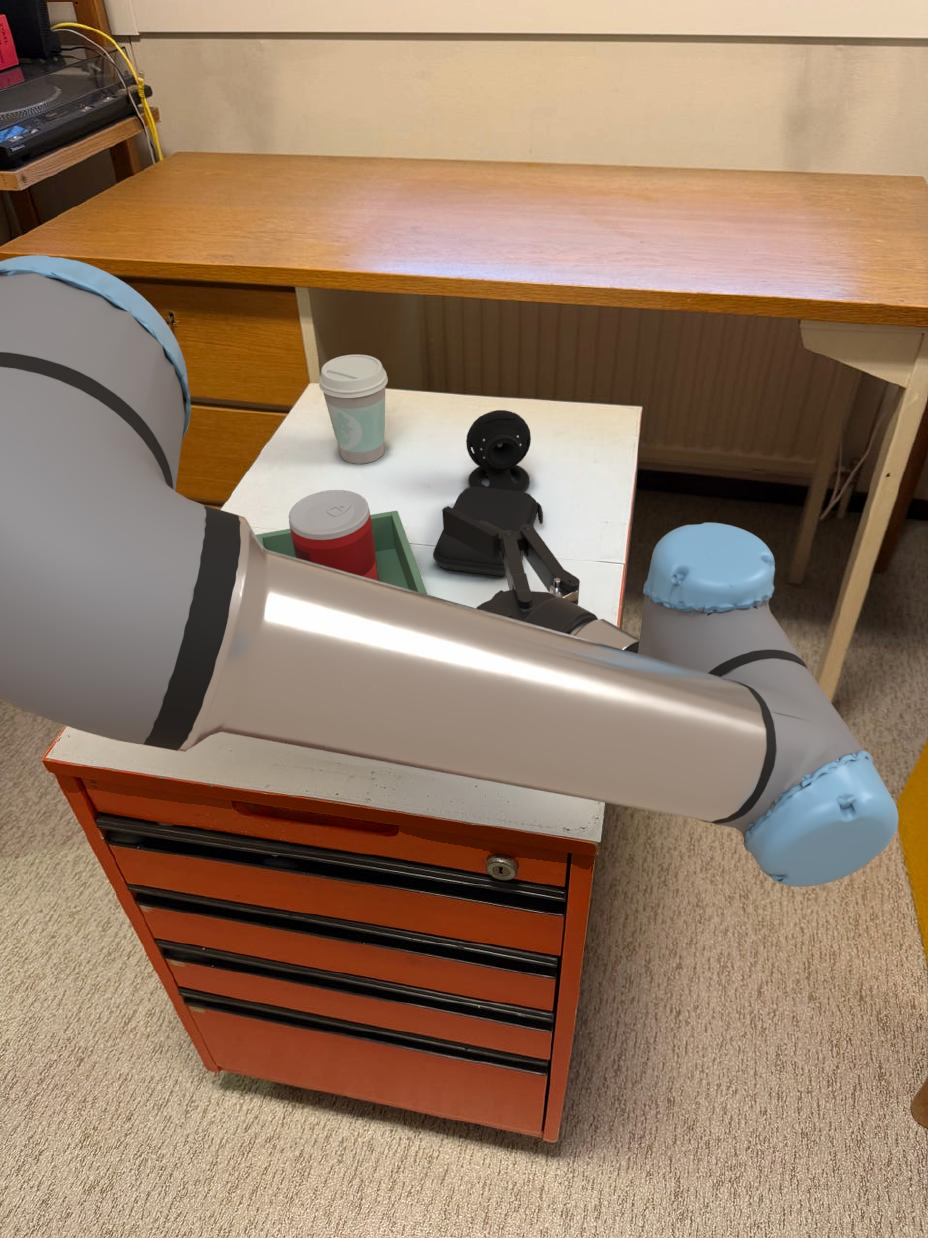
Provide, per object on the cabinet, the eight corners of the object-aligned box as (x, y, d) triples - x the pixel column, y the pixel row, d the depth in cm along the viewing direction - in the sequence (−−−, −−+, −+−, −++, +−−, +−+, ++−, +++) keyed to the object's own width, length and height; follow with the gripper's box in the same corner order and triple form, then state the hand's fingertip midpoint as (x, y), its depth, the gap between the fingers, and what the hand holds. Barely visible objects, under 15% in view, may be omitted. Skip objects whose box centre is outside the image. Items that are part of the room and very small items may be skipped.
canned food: (394, 588, 93) (384, 501, 86) (348, 632, 88) (333, 543, 81) (338, 566, 97) (324, 480, 90) (290, 607, 92) (271, 520, 85)
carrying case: (525, 586, 94) (549, 509, 105) (526, 563, 92) (549, 488, 103) (429, 574, 96) (462, 500, 107) (427, 551, 94) (461, 478, 105)
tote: (275, 666, 86) (266, 627, 83) (263, 572, 97) (254, 534, 94) (431, 635, 89) (428, 596, 85) (401, 547, 100) (397, 509, 97)
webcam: (472, 505, 106) (470, 430, 99) (463, 472, 112) (460, 400, 105) (536, 497, 107) (537, 423, 100) (523, 466, 112) (524, 393, 106)
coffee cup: (321, 446, 118) (308, 361, 110) (381, 430, 120) (372, 346, 113) (342, 476, 112) (329, 388, 104) (404, 459, 115) (396, 373, 107)
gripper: (467, 782, 65) (290, 650, 76) (662, 617, 78) (486, 525, 89) (463, 712, 60) (275, 582, 71) (672, 549, 73) (485, 461, 85)
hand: (392, 551), depth 80 cm, fingers open, 13 cm apart
